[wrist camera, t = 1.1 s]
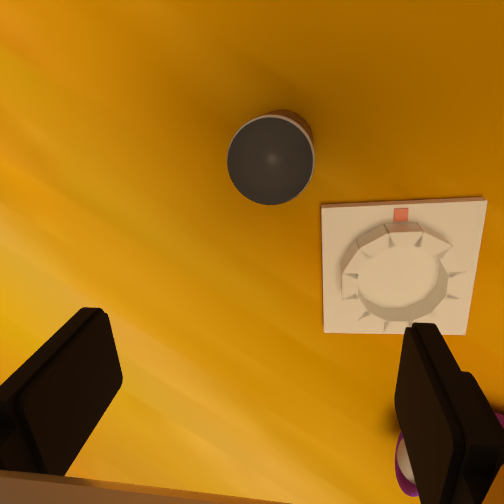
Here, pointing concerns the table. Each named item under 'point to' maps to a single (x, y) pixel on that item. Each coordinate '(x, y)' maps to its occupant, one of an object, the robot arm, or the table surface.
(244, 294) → the table surface
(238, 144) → the lens
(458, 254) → the lens mount
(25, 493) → the robot arm
